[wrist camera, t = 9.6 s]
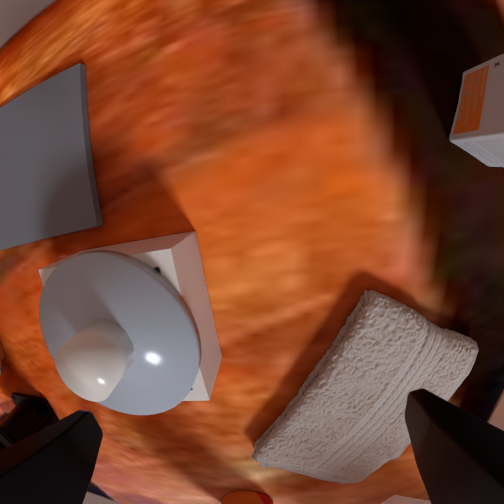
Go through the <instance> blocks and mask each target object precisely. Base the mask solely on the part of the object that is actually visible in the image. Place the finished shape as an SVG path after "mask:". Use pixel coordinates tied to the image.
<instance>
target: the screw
mask: <svg viewBox="0 0 504 504" xmlns="http://www.w3.org/2000/svg"><path fill="white" fill-rule="evenodd" d="M4 357H5V354H4V350H3V347H2V345H1V344H0V375H1V374H2V364H1V360H2V359H3V358H4Z"/></svg>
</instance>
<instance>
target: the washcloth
mask: <svg viewBox="0 0 504 504" xmlns="http://www.w3.org/2000/svg"><path fill="white" fill-rule="evenodd" d="M346 319H348V320H347V321H346V324H345V326H343V327H341V329H340V331H339V334H338V335H337V337H336V339H335V340H334V341H333V343H332V345H331V347H330V348H329V349H328V350H327V351H326V354H325V355H323V357H322V359H321V360H320V361H319V362H318V363H317V364H316V367H315V369H314V370H313V371H312V372H311V373H309V376H308V377H307V378H306V380H305V382H304V383H303V385H302V387H301V388H300V389H299V391H298V393H297V396H295V397H294V398H293V399H292V401H291V402H290V403H288V405H287V407H286V409H285V410H284V411H283V413H282V414H281V415H280V416H278V417H277V420H276V421H274V422H273V423H272V425H271V426H270V427H269V428H268V429H267V430H266V431H265V433H264V434H262V435H261V437H260V438H259V439H258V440H257V441H256V442H255V444H254V445H253V447H254V450H255V451H254V453H253V456H252V457H253V459H255V460H256V461H257V462H259V463H260V465H261V466H262V467H275V468H279V469H283V470H288V471H291V472H294V473H297V474H301V475H306V476H309V477H313V478H317V479H320V480H324V481H330V482H336V483H341V484H344V485H345V484H347V483H358V482H361V481H363V480H364V479H366V478H367V477H368V476H369V475H370V474H372V473H373V472H374V471H375V470H377V469H378V468H380V467H381V466H382V465H383V464H385V463H387V462H388V461H389V460H391V459H397V458H398V457H399V456H400V455H401V454H402V453H403V451H404V450H405V448H406V447H407V446H408V445H409V444H410V443H411V441H410V437H409V433H408V429H407V426H406V422H405V409H406V403H407V396H408V394H409V392H410V391H413V390H417V389H420V388H424V389H426V390H428V391H430V392H432V393H433V394H435V395H437V396H439V397H441V398H442V399H444V400H446V401H448V400H449V398H450V397H451V396H452V395H453V393H454V392H455V391H456V389H457V388H458V387H459V386H460V384H461V383H462V382H463V380H464V379H465V378H466V377H467V376H468V374H469V373H470V371H471V369H472V366H473V364H474V362H475V359H476V356H477V353H478V346H477V343H476V342H475V341H473V339H471V338H470V337H467V336H464V335H463V334H459V333H457V332H456V331H453V330H448V329H447V328H446V329H442V328H440V327H438V326H437V325H435V324H433V323H432V322H431V321H428V320H426V318H425V317H424V316H422V315H421V314H420V313H418V312H417V311H415V310H414V309H412V308H409V307H407V305H405V304H401V303H399V302H397V301H396V300H395V299H391V298H390V297H387V296H386V295H383V294H381V293H379V292H376V291H373V290H370V291H366V290H364V294H363V296H361V298H360V301H359V302H358V303H357V306H356V307H355V309H354V310H353V311H352V313H351V316H348V317H347V318H346Z"/></svg>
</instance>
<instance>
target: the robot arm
mask: <svg viewBox="0 0 504 504" xmlns="http://www.w3.org/2000/svg"><path fill="white" fill-rule="evenodd" d="M11 397H12V399H13V400H14V402H15V404H16V406H15V407H14V409H13V410H12V411H11V412H10V413H9V414H8V415H7V416H6V417H5V418H4V419H3V420H2V421H1V422H0V504H82V503H83V501H84V498H85V495H86V492H87V489H88V487H89V484H90V481H91V478H92V475H93V472H94V468H95V464H96V460H97V456H98V452H99V448H100V445H101V441H102V437H103V433H102V430H101V428H100V426H99V424H98V422H97V420H96V419H95V417H94V415H93V413H91V412H90V411H85V410H78V411H76V412H74V413H72V414H71V415H69V416H67V417H65V418H63V419H61V420H60V421H58V420H57V418H56V416H55V414H54V413H53V411H52V409H51V407H50V405H49V404H48V402H47V401H46V400H45V399H42V398H37V397H32V396H28V395H23V394H19V393H14V392H13V393H12V394H11ZM405 422H406V426H407V429H408V433H409V437H410V441H411V444H412V448H413V452H414V456H415V460H416V464H417V467H418V470H419V472H420V475H421V478H422V480H423V483H424V485H425V488H426V491H427V493H428V496H429V499H430V502H431V504H504V431H503V430H501V429H499V428H497V427H495V426H493V425H491V424H489V423H487V422H485V421H483V420H481V419H480V418H478V417H476V416H474V415H472V414H470V413H468V412H466V411H465V410H463V409H461V408H459V407H457V406H455V405H453V404H452V403H450V402H448V401H446V400H444V399H442V398H441V397H439V396H437V395H435V394H433V393H432V392H430V391H428V390H426V389H424V388H420V389H417V390H413V391H410V392H409V394H408V396H407V403H406V409H405Z"/></svg>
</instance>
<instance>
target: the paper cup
mask: <svg viewBox="0 0 504 504" xmlns="http://www.w3.org/2000/svg"><path fill="white" fill-rule="evenodd" d="M221 504H273V500H272V499H271V498H270V497H269V496H268V495H266V494H263V493H260V492H256V491H248V490H241V491H234V492H230V493H228V494H226V495H225V496H224V498H223V500H222V503H221Z"/></svg>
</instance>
